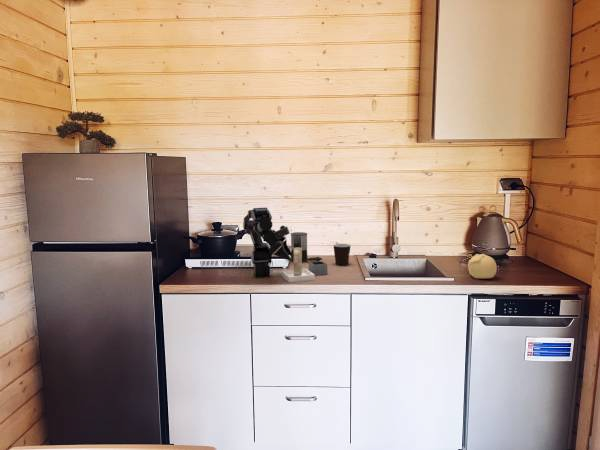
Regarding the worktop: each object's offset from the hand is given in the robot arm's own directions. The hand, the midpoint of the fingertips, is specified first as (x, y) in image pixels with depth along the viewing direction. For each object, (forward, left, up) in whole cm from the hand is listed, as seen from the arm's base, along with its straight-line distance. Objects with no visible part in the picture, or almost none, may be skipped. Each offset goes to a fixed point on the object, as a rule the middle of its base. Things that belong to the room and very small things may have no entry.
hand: (291, 257), depth 202 cm
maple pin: (+2, -1, -9) cm, 9 cm away
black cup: (+33, +17, -10) cm, 38 cm away
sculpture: (+80, -29, -10) cm, 86 cm away
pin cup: (+14, +3, -9) cm, 17 cm away
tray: (+3, -1, -9) cm, 10 cm away
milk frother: (+17, +29, -10) cm, 35 cm away
